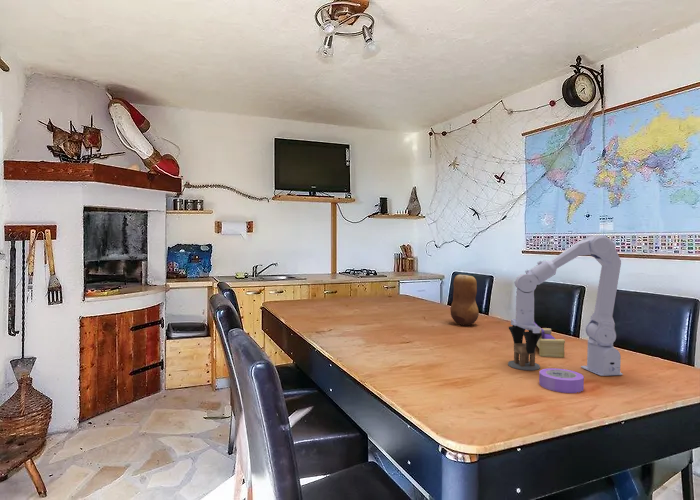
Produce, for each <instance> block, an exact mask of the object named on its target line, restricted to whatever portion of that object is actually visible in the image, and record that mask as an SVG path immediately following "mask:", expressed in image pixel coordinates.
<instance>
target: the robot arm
mask: <svg viewBox="0 0 700 500" xmlns="http://www.w3.org/2000/svg"><path fill="white" fill-rule="evenodd" d="M579 256H581V257H582V256H591V257H592V258H594V259H595V260H596V261H597V262H598V263H599V264H600V265H601V270H600V276H599V280H598V286H597V293H596V297H595V298H596V300H595V305H594V309H593V310H594V311H593V313H592V315H591V316H590V320H589V322H588V323H587V324H586V326H585V333H586V335H587V336H588V339H587V356H586V357H587V359H586V360H587V361H586V365H580V368H581V369H584V370H586V371H588V372H591V373H593V374H595V375H598V376H601V377H603V376H606V377H607V376H622V375H623V374H624V373H622V372H621V362H622V361H621V360H622V359H621V353H620V351H619V350H618V349H617V348H616V347H614V342H616V339H617V332H616V328H615V326H616V323H615V320H614V317H613V316H614V309H615V302H616V296H617V290H618V285H619V279H620V278H619V277H620V274H621V273H620V272H621V271H620V270H621V266H622V260H621V258H620V255H619V254H618V251H617V249H616V244H615V242H614V241H613V240H611V239H610V238H609V237H607V236H606V235H589V236H586V237H585V238H584V239H581V240H579V241H577V242H575V243H574V244H573V245H571V246H570V247H568V248H567V249H566V250H563V252H561V253H560V254H558V255H557V256H555V257H554V258H552V259H551V260H546V259H544V260H539V261H537V262H536V265H535V266H533V267H531V268H530V269H526V270H525V271H524V273H521V274H519V275H518V276H516V278H515V281H514V286H515V288H516V296H515V318H511V319H510V326H508V330H509V332H510V334H511V336H512V340H513V345H514V344H516V343H524V342H523V340H524V339H525V343H526V350H527V353H534V351H535V348H536V349H537V342H538V340H539V338H540V337H541V336H542V333H540V328H541V327H540V326H539V325H538V324H537V325H538V326H539V327H538V326H537V325H535V324H534V322H535V290H536V288H537V287H538V286H539V285H541V284H543V283H544V282H546V281H547V280H548V279H550V278H551V277H553V276H555V275H556V272H557V270H558V269H559V268H560V267H563V266H564V265H565V264H567V263H569V262H571V261H573V260H574V259H577V257H579ZM537 285H538V286H537ZM511 325H512V326H511Z"/></svg>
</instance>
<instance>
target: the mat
mask: <svg viewBox="0 0 700 500" xmlns="http://www.w3.org/2000/svg"><path fill="white" fill-rule="evenodd" d="M507 365H508V367H510V368H512V369H515V370H521V371H529V372H530V371H537V370H541V366H540V364H538V363H537V362H535V366H530V360H529V363H525V367H521V366H520V359H519V363H517V364H516V363H514V359H513V360H509V361H508V362H507Z"/></svg>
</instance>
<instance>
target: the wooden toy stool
mask: <svg viewBox="0 0 700 500" xmlns="http://www.w3.org/2000/svg"><path fill="white" fill-rule="evenodd" d="M536 350H537V347H536V348H535V351H534V353H527V350H526V342H522V343H516V344H514V343H513V360H514V363H516V364H517V363H519V360H520V366H521V367H525V363H529V361H530V366H535V363H536V352H537V351H536Z"/></svg>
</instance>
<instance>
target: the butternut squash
mask: <svg viewBox="0 0 700 500" xmlns="http://www.w3.org/2000/svg"><path fill="white" fill-rule="evenodd" d="M477 283H478V281H477V279H476V278H475V277H474V276H473V275H468V274H457V275H455V277H454V279H453V294H452V295H453V296H452V297H453V298H452V302H451V304H450V315H451V318H452V320H453V322H455V323H457V324H459V325H460V326H466V327H468V326H469V325H473V324H474V323H476V321H477V320H478V318H479V315H480V313H479V307H478V305H477V301H476V297H477V293H478V289H477V288H478V285H477Z"/></svg>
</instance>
